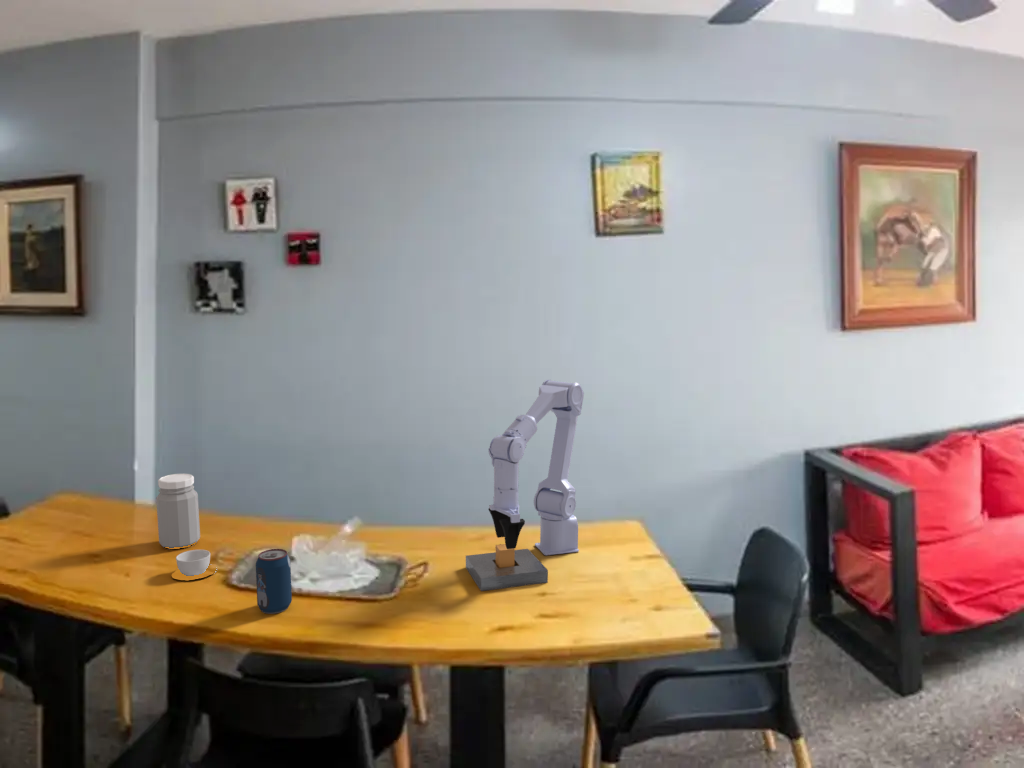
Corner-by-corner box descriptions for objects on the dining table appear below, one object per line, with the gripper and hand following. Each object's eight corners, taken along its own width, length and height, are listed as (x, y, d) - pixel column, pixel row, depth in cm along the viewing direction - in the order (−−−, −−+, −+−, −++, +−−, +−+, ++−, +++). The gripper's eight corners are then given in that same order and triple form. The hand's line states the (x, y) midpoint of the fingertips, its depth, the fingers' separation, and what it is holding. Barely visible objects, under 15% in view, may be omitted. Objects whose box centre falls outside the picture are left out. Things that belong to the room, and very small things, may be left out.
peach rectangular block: (509, 571, 170) (510, 543, 169) (514, 577, 166) (514, 548, 165) (495, 572, 169) (495, 544, 168) (499, 579, 165) (499, 550, 164)
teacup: (199, 584, 161) (198, 565, 160) (161, 580, 163) (160, 561, 162) (225, 567, 171) (224, 549, 170) (189, 564, 173) (188, 545, 172)
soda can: (295, 600, 153) (293, 547, 151) (286, 615, 146) (284, 560, 145) (263, 600, 153) (261, 547, 151) (253, 615, 146) (250, 560, 144)
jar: (159, 540, 188) (155, 475, 185) (200, 535, 192) (196, 471, 189) (158, 553, 179) (154, 484, 177) (200, 547, 183) (197, 480, 181)
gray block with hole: (527, 560, 176) (527, 548, 176) (547, 582, 163) (547, 570, 163) (465, 567, 172) (465, 555, 171) (481, 591, 158) (481, 578, 158)
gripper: (481, 479, 170) (481, 533, 172) (498, 497, 156) (498, 555, 158) (509, 477, 172) (509, 530, 174) (528, 494, 159) (528, 552, 160)
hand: (506, 542), depth 166 cm, fingers open, 7 cm apart
